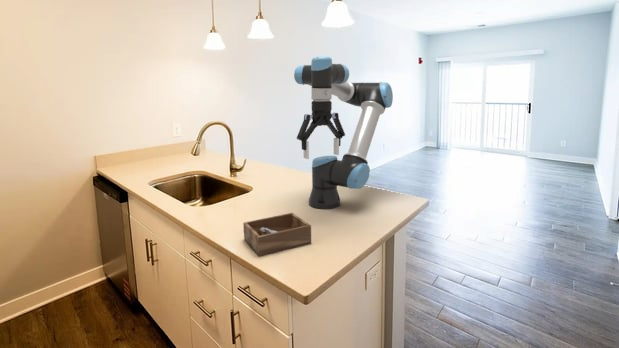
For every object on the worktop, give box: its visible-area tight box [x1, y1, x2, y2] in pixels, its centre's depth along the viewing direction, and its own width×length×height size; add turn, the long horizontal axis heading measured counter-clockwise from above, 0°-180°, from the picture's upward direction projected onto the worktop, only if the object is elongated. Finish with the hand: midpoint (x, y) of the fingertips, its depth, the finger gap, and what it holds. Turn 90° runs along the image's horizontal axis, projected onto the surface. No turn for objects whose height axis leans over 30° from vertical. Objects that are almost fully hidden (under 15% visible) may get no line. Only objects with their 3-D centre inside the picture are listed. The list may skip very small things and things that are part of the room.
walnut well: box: [243, 212, 312, 258], centre depth 127 cm, size 15×20×7 cm
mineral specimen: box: [260, 227, 277, 235], centre depth 127 cm, size 6×12×4 cm, turn 46°
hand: (321, 156), depth 135 cm, fingers open, 13 cm apart
